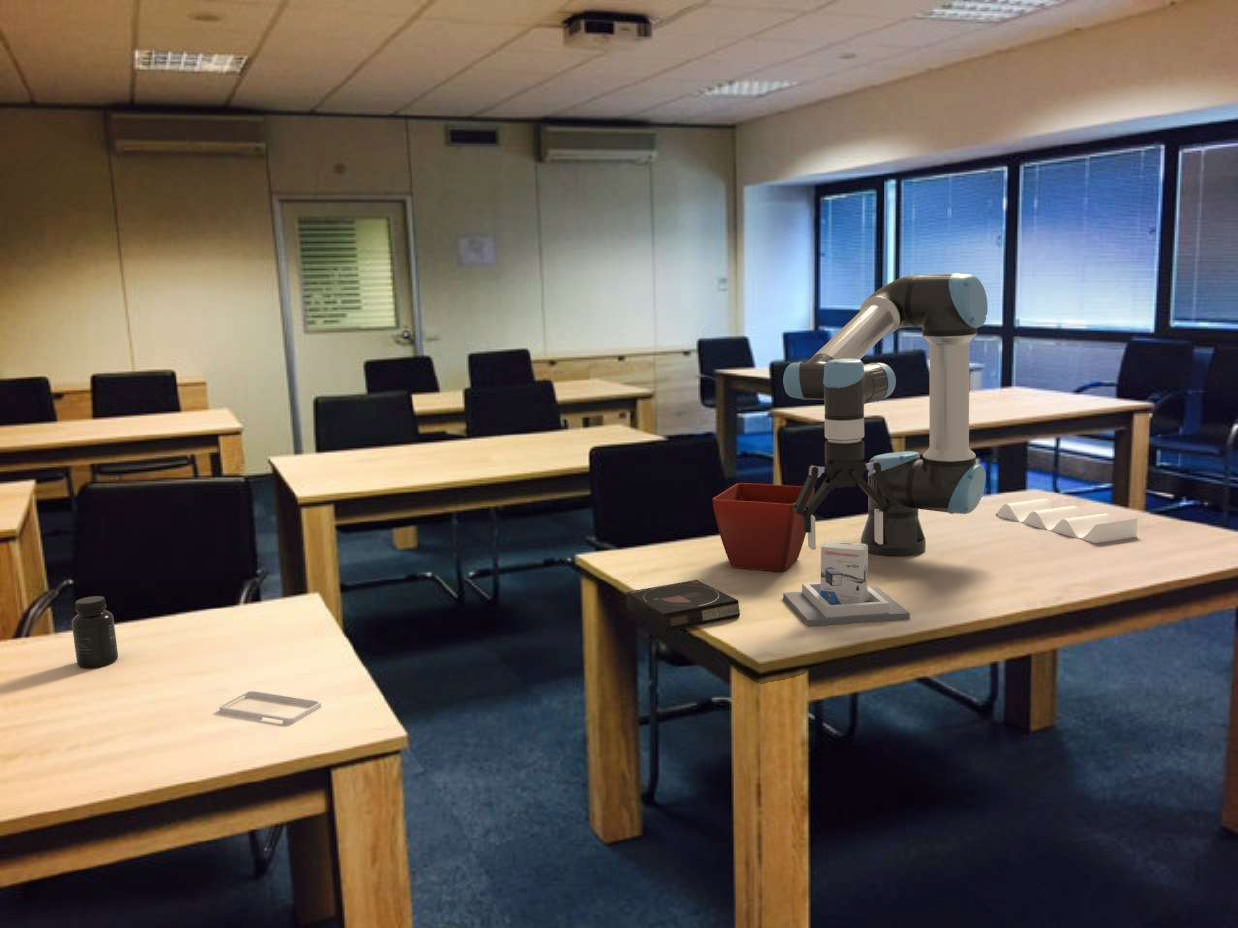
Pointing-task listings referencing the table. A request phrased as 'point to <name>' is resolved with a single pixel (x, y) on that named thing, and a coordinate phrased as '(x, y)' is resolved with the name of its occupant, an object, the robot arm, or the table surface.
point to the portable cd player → (682, 605)
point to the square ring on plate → (843, 607)
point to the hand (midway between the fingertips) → (845, 545)
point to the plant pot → (760, 525)
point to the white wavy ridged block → (1069, 521)
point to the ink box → (844, 572)
